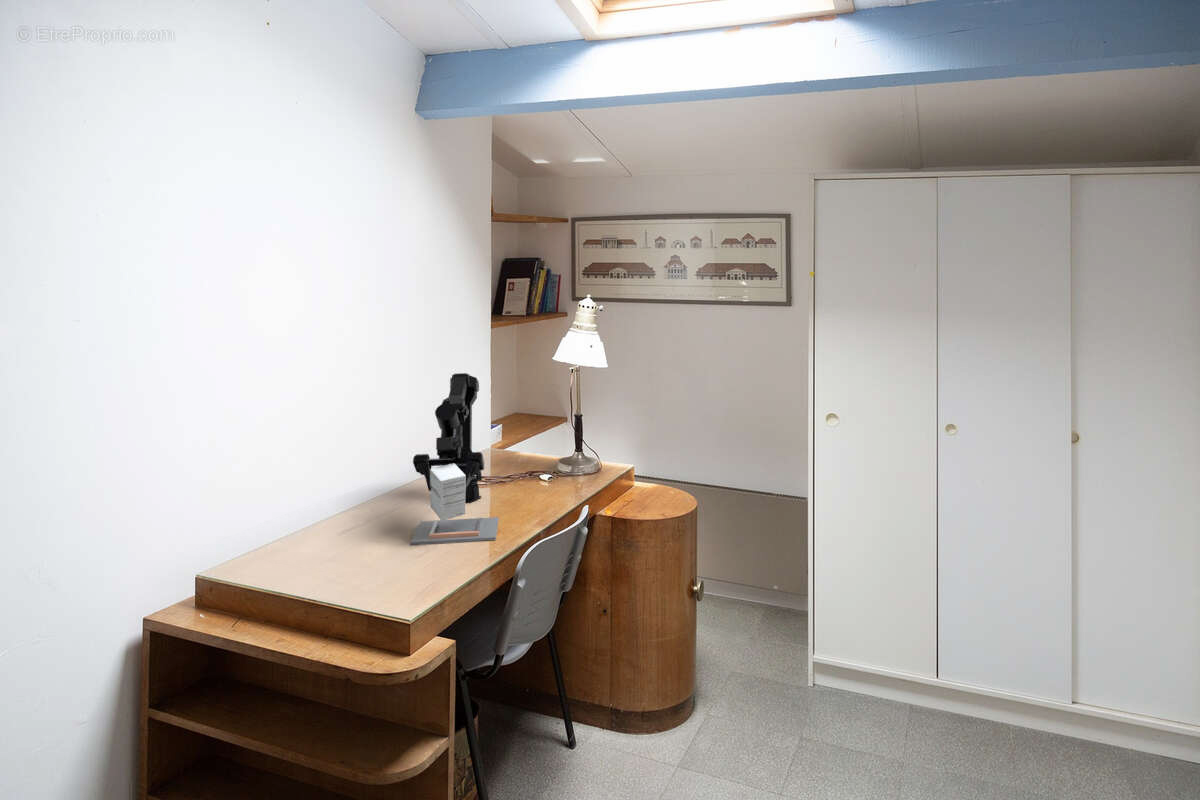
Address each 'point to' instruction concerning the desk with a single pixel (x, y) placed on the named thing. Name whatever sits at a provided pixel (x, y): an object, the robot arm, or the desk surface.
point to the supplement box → (447, 491)
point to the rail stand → (456, 531)
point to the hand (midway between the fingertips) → (446, 489)
